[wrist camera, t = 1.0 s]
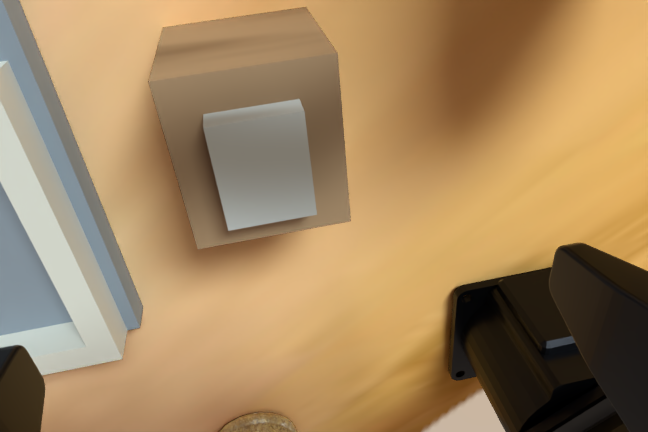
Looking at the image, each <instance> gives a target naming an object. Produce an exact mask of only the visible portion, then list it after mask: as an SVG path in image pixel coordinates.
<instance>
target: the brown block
mask: <svg viewBox="0 0 648 432" xmlns="http://www.w3.org/2000/svg"><path fill="white" fill-rule="evenodd" d="M148 82H149V85H150V89H151V92H152V96H153V99H154V102H155V106H156V109H157V112H158V116H159V119H160V123H161V126H162V129H163V133H164V136H165V140H166V143H167V146H168V150H169V153H170V157H171V160H172V163H173V167H174V170H175V174H176V177H177V180H178V184H179V187H180V191H181V194H182V197H183V201H184V204H185V208H186V211H187V214H188V218H189V221H190V225H191V228H192V231H193V235H194V238H195V242H196V245H197V248H198V249H203V248H209V247H214V246H219V245H225V244H230V243H236V242H241V241H246V240H252V239H257V238H263V237H268V236H273V235H279V234H284V233H290V232H295V231H300V230H306V229H311V228H317V227H322V226H327V225H333V224H338V223H344V222H349V221H351V219H350V206H349V193H348V181H347V168H346V155H345V142H344V130H343V117H342V104H341V91H340V79H339V66H338V53H337V51H336V50H335V49H334V47H333V46H332V44H331V43H330V41H329V40H328V38H327V37H326V35H325V34H324V33H323V31H322V30H321V28H320V27H319V25H318V24H317V22H316V21H315V19H314V18H313V17H312V15H311V14H310V12H309V11H308V9H307V8H306V7H302V8H295V9H288V10H281V11H274V12H267V13H260V14H253V15H246V16H239V17H232V18H225V19H218V20H211V21H204V22H197V23H190V24H183V25H176V26H169V27H163V29H162V33H161V37H160V40H159V44H158V48H157V52H156V55H155V59H154V63H153V66H152V70H151V74H150V78H149V81H148Z"/></svg>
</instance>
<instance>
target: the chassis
mask: <svg viewBox="0 0 648 432" xmlns="http://www.w3.org/2000/svg"><path fill="white" fill-rule="evenodd" d="M142 311H143V306H142V303H141V301H140V298H139V296H138V293H137V291H136V289H135V286H134V284H133V281H132V279H131V276H130V274H129V271H128V269H127V266H126V264H125V261H124V259H123V256H122V254H121V251H120V249H119V246H118V244H117V242H116V239H115V237H114V234H113V232H112V229H111V227H110V224H109V222H108V219H107V217H106V214H105V212H104V209H103V207H102V204H101V202H100V199H99V197H98V194H97V192H96V190H95V187H94V185H93V182H92V180H91V177H90V175H89V172H88V170H87V167H86V165H85V162H84V160H83V157H82V155H81V152H80V150H79V147H78V145H77V142H76V140H75V138H74V135H73V133H72V130H71V128H70V125H69V123H68V120H67V118H66V115H65V113H64V110H63V108H62V105H61V103H60V100H59V98H58V95H57V93H56V91H55V88H54V86H53V83H52V81H51V78H50V76H49V73H48V71H47V68H46V66H45V63H44V61H43V58H42V56H41V53H40V51H39V48H38V46H37V43H36V41H35V39H34V36H33V34H32V31H31V29H30V26H29V24H28V21H27V19H26V16H25V14H24V11H23V9H22V6H21V4H20V1H19V0H0V348H2V347H7V346H13V345H22V346H23V347H25V348H26V350H27V351H28V353H29V354H30V356H31V358H32V359H33V361H34V363H35V364H36V366H37V368H38V370H39V371H40V373H41V375H46V374H51V373H56V372H61V371H66V370H71V369H76V368H81V367H86V366H91V365H96V364H101V363H106V362H111V361H116V360H120V359H123V353H124V347H125V342H126V336H127V330H131V329H136V328H140V325H141V318H142Z"/></svg>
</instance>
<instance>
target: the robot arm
mask: <svg viewBox="0 0 648 432" xmlns="http://www.w3.org/2000/svg"><path fill="white" fill-rule="evenodd" d="M465 295H466V296H465ZM463 296H464V297H463ZM448 371H449V374H450V376H451V378H452V379H453V380H463V379H467V378H472V377H476V376H477V378H478V380H479V382H480V384H481V386H482V388H483V389H484V391H485V393H486V395H487V397H488V399H489V401H490V403H491V404H492V407H493V408H494V410H495V412H496V414H497V416H498V418H499V420H500V422H501V424H502V426H503V427H504V429H505V431H506V432H648V271H646V270H644V269H642V268H640V267H637V266H635V265H633V264H630V263H628V262H626V261H623V260H621V259H619V258H617V257H614V256H612V255H610V254H607V253H605V252H603V251H601V250H598V249H596V248H594V247H591V246H589V245H587V244H584V243H574V244H568V245H563V246H560V247H558V249H557V250H556V252H555V256H554V260H553V265H552V267H551V268H546V269H541V270H536V271H531V272H526V273H521V274H516V275H511V276H506V277H501V278H496V279H491V280H486V281H481V282H476V283H471V284H466V285H463V286H460V287H458V288H457V289H456V290H455V291H454V294H453V308H452V323H451V338H450V353H449V368H448ZM44 397H45V383H44V379H43V377H42V375H41V373H40V371H39V370H38V368H37V366H36V364H35V363H34V361H33V359H32V358H31V356H30V354H29V353H28V351H27V350H26V348H25V347H23V346H22V345H13V346H7V347H2V348H0V432H41V423H42V414H43V406H44Z"/></svg>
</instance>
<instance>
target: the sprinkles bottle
mask: <svg viewBox="0 0 648 432" xmlns="http://www.w3.org/2000/svg"><path fill="white" fill-rule="evenodd" d="M220 432H297V430H296V427H295V426H294V425H293V423H292V421H290V420H289V419H288V418H286V417H283V416H281V415H278V414H275V413H265V412H260V413H253V414H248V415H244V416H241V417H239V418H237V419H235V420H233V421H231V422H230V423H228V424H227V425H225V426H224V427H223V429H222V430H221V431H220Z"/></svg>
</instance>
